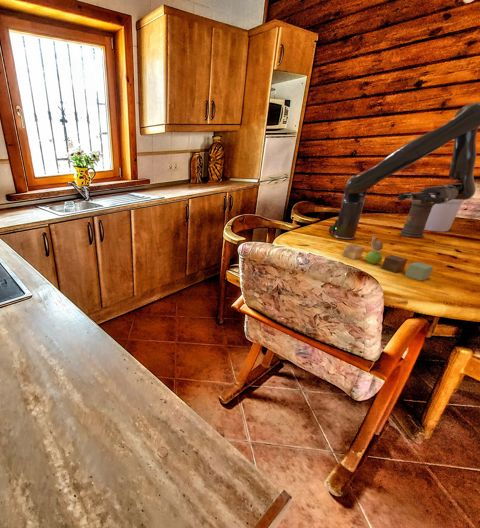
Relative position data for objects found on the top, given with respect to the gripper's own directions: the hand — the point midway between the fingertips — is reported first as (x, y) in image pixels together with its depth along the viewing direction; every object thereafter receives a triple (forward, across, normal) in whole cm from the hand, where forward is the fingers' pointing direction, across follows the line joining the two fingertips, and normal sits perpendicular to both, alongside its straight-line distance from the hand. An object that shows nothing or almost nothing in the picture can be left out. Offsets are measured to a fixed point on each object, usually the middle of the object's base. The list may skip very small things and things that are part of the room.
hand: (411, 199), depth 115 cm
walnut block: (+14, +8, +26) cm, 31 cm away
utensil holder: (-65, -16, +26) cm, 72 cm away
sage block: (+14, +16, +26) cm, 34 cm away
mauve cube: (+14, -8, +26) cm, 31 cm away
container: (-42, -14, +26) cm, 51 cm away
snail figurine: (+14, 0, +26) cm, 30 cm away
